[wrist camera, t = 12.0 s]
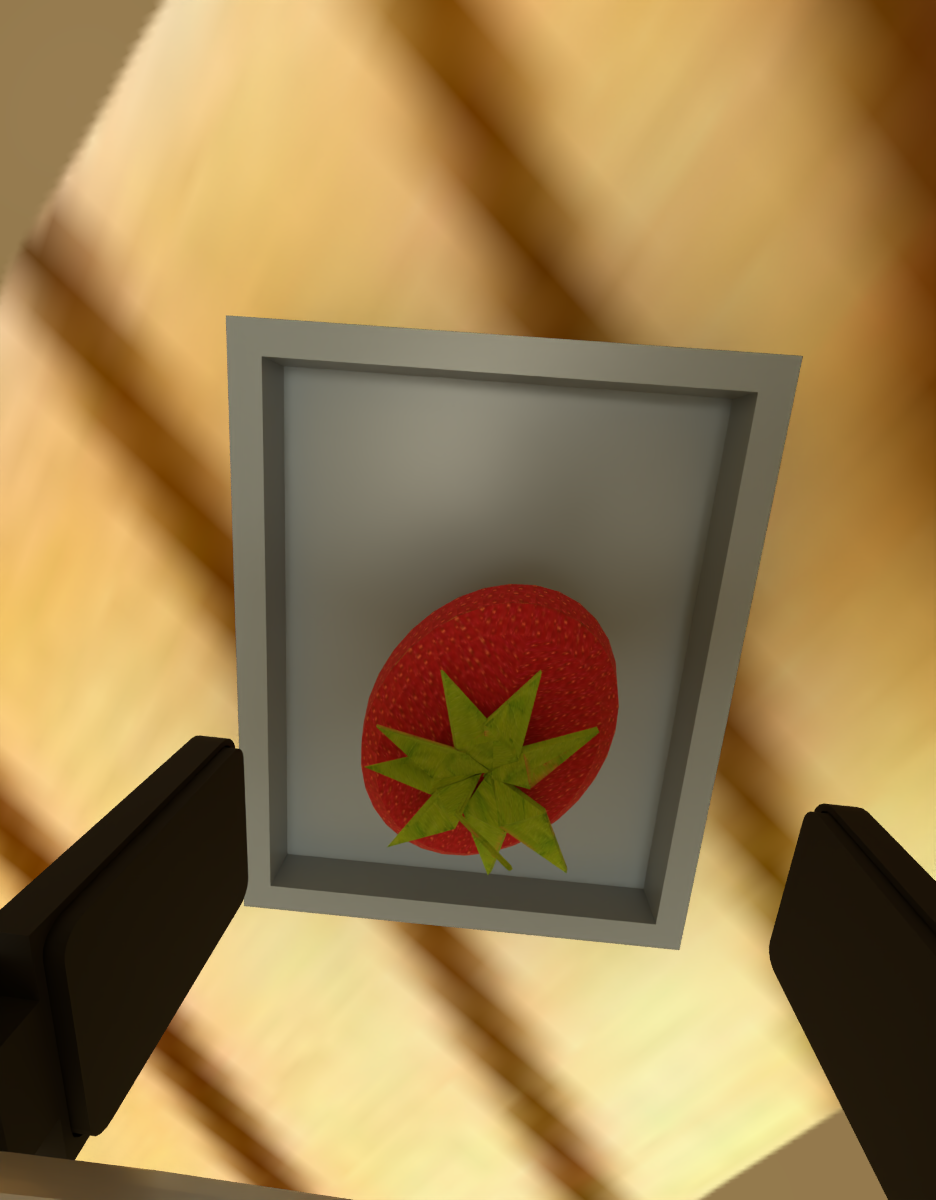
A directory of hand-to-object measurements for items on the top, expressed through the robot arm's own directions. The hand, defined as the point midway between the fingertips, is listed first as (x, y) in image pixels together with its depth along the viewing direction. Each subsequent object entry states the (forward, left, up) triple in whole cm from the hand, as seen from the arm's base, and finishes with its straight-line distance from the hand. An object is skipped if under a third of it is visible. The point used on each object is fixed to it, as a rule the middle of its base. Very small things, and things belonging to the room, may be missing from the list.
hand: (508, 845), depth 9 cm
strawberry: (0, 0, -11) cm, 11 cm away
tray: (+1, 0, -11) cm, 11 cm away
